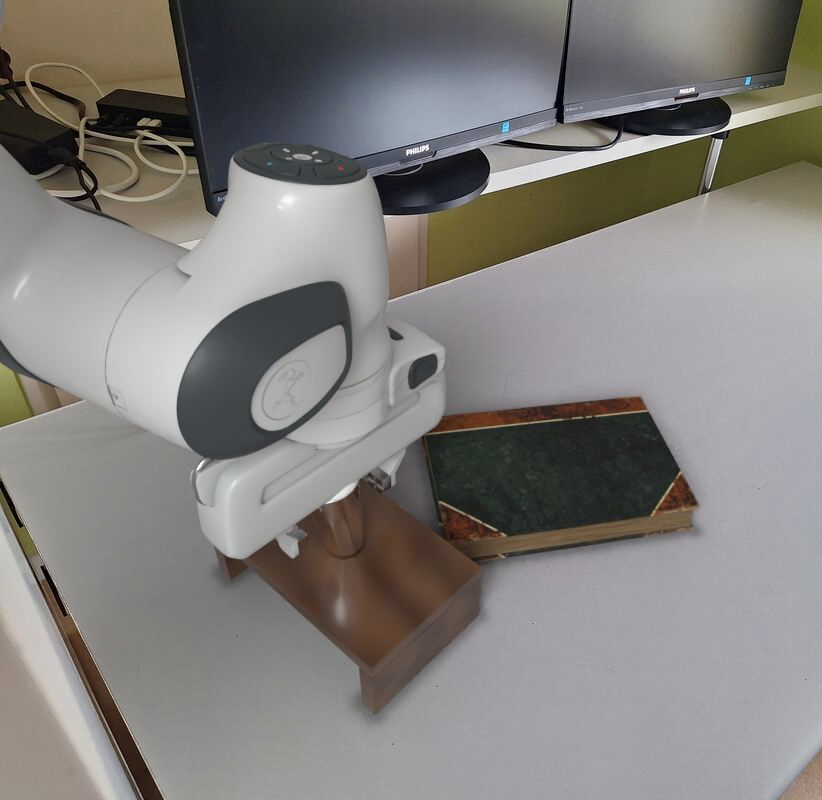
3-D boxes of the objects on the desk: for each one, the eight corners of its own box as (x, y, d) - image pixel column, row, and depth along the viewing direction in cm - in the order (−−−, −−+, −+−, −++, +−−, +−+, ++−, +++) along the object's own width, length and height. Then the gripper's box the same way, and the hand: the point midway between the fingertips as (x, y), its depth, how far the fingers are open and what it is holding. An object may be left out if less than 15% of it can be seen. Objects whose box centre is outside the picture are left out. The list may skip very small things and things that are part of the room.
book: (446, 568, 70) (693, 531, 76) (447, 543, 68) (702, 507, 74) (419, 438, 83) (634, 415, 89) (419, 413, 80) (639, 391, 86)
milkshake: (350, 504, 65) (330, 422, 58) (383, 544, 62) (366, 464, 55) (302, 531, 63) (275, 450, 56) (333, 574, 60) (309, 494, 53)
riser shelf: (375, 715, 59) (371, 668, 55) (220, 570, 68) (205, 519, 63) (478, 616, 67) (482, 567, 62) (327, 496, 75) (321, 446, 71)
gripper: (217, 489, 43) (252, 624, 52) (462, 340, 56) (456, 469, 65) (155, 435, 46) (198, 573, 55) (402, 304, 59) (404, 433, 68)
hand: (340, 515), depth 60 cm, fingers open, 7 cm apart
